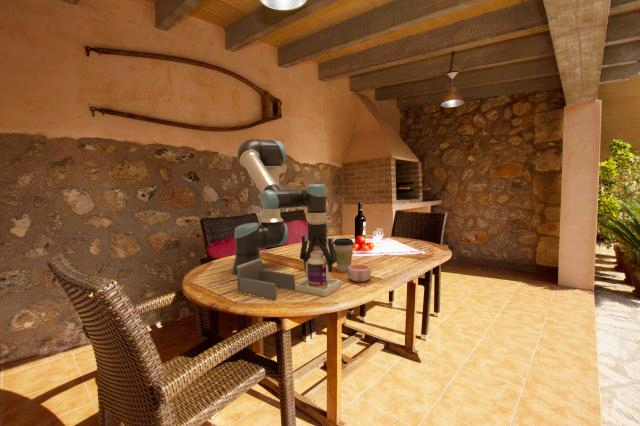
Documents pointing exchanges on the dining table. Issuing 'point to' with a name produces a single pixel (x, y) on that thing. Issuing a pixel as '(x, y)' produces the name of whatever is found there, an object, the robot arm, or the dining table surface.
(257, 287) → the bay
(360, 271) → the mug
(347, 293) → the dining table surface
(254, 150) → the robot arm
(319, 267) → the pill bottle
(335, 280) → the tray
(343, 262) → the coffee cup
